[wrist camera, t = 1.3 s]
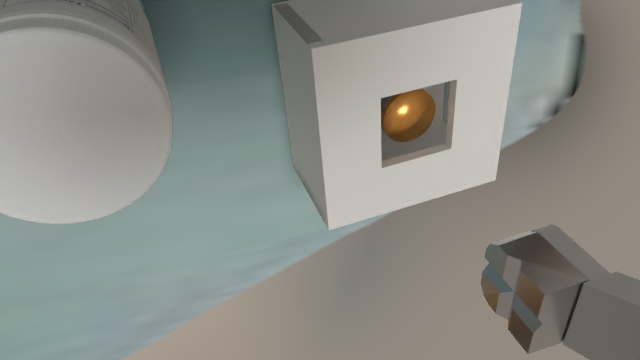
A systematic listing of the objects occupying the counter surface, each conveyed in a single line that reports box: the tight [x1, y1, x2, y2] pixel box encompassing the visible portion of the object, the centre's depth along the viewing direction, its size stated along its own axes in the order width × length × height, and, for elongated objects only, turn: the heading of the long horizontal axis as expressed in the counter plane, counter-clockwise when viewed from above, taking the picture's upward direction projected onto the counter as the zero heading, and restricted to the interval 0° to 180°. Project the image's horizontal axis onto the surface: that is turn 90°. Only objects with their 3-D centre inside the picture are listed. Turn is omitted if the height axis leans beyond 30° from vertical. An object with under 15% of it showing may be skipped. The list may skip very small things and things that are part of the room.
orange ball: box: [381, 88, 436, 142], centre depth 38 cm, size 4×4×4 cm
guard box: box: [271, 0, 522, 230], centre depth 39 cm, size 14×14×9 cm
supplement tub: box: [0, 0, 173, 224], centre depth 28 cm, size 10×10×15 cm
